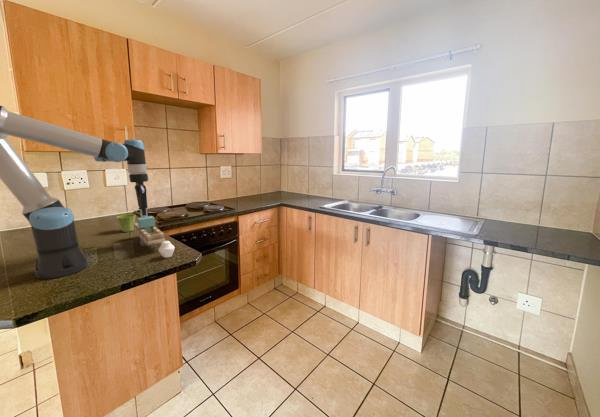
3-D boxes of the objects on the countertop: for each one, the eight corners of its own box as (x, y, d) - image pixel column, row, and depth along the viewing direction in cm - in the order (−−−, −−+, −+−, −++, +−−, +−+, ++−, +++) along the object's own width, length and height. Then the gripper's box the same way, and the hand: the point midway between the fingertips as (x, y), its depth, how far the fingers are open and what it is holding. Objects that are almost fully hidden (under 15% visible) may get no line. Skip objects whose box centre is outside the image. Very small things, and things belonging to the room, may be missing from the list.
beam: (166, 250, 119) (164, 232, 118) (149, 254, 115) (146, 236, 113) (149, 234, 143) (147, 219, 141) (135, 237, 138) (132, 222, 137)
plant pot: (120, 229, 154) (118, 215, 152) (139, 227, 158) (137, 213, 156) (117, 233, 145) (114, 218, 144) (137, 231, 149) (134, 216, 148)
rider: (156, 231, 128) (154, 217, 127) (141, 233, 124) (139, 219, 123) (153, 229, 132) (151, 215, 131) (139, 231, 128) (137, 218, 127)
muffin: (160, 254, 114) (158, 239, 113) (176, 252, 116) (174, 237, 115) (158, 260, 108) (156, 244, 107) (174, 257, 110) (172, 242, 109)
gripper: (150, 173, 122) (156, 222, 127) (144, 172, 132) (150, 217, 137) (131, 174, 118) (138, 225, 122) (126, 173, 127) (133, 220, 132)
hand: (144, 221), depth 130 cm, fingers closed
